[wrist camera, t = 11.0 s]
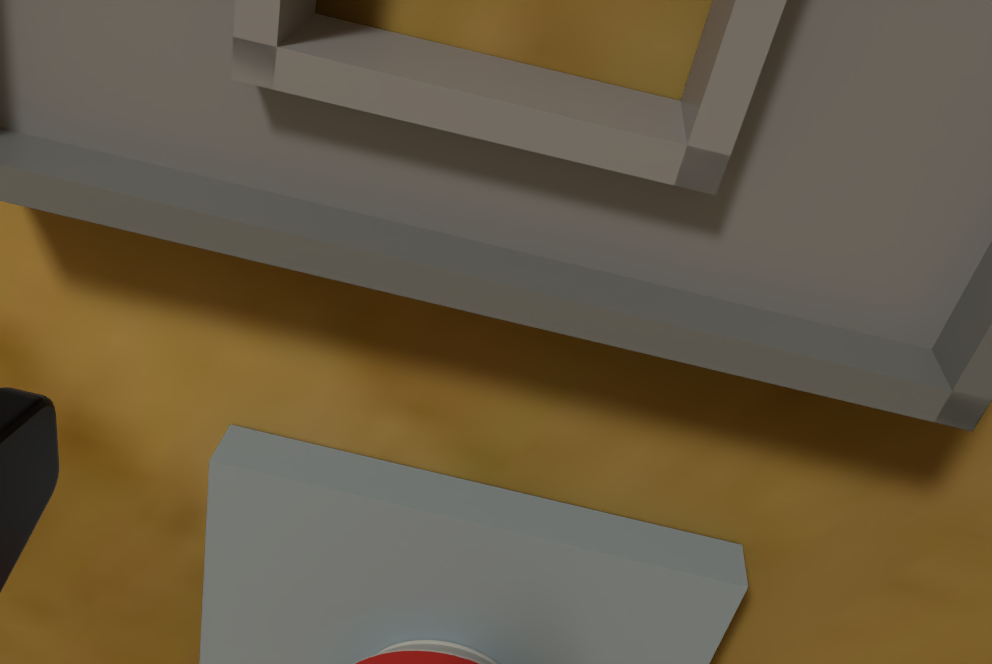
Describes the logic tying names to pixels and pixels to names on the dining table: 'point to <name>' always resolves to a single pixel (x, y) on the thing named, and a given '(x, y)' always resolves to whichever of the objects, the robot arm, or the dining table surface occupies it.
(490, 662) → the beverage can
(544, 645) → the slate board
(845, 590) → the dining table surface
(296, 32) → the grey tray
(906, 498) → the dining table surface
